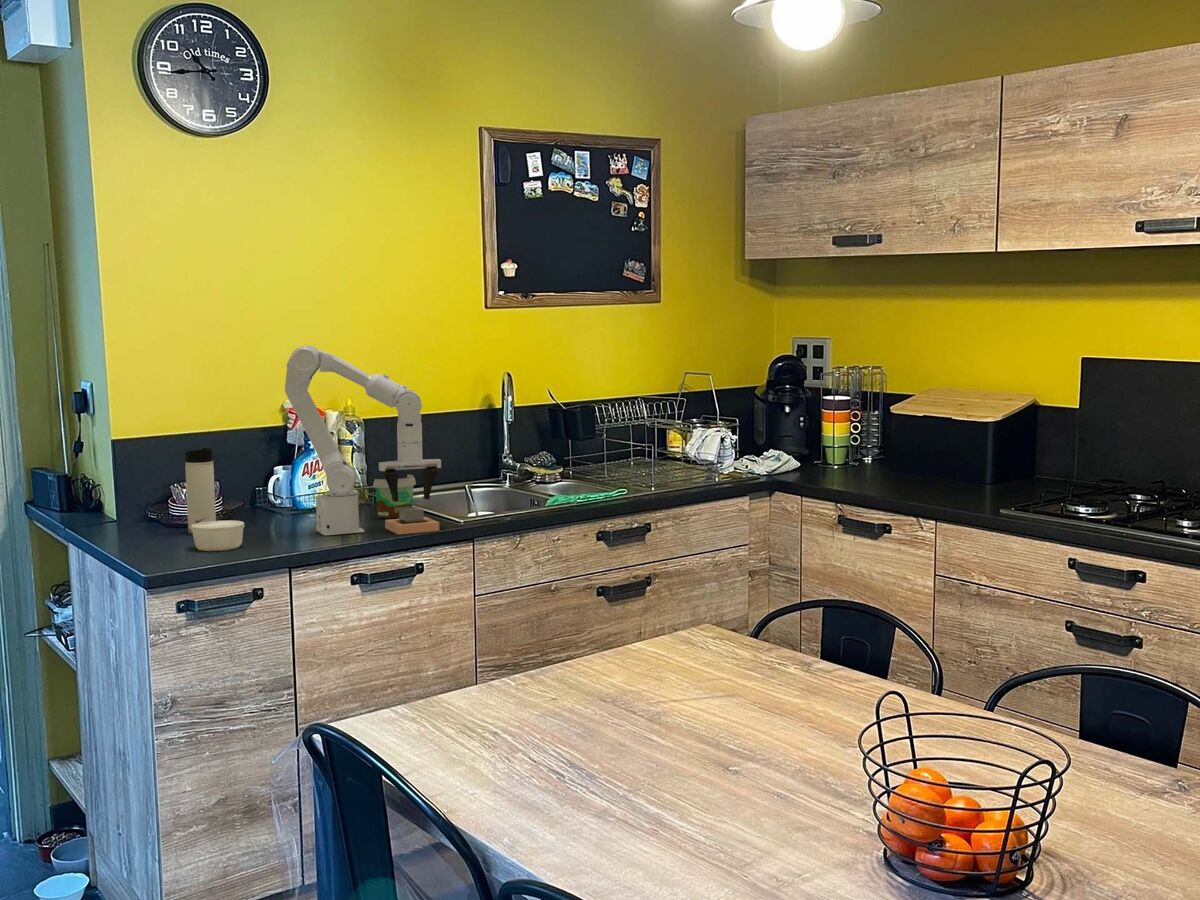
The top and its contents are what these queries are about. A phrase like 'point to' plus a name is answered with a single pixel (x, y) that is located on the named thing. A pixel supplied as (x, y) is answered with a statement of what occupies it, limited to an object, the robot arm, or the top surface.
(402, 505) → the food container
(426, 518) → the hole plate
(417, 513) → the steel block
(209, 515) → the travel mug
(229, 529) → the ramekin
